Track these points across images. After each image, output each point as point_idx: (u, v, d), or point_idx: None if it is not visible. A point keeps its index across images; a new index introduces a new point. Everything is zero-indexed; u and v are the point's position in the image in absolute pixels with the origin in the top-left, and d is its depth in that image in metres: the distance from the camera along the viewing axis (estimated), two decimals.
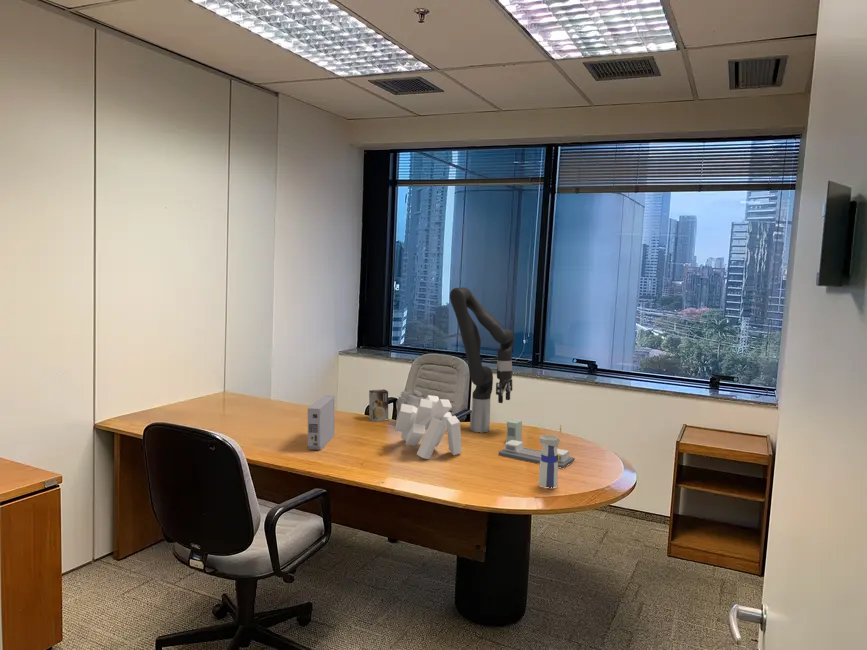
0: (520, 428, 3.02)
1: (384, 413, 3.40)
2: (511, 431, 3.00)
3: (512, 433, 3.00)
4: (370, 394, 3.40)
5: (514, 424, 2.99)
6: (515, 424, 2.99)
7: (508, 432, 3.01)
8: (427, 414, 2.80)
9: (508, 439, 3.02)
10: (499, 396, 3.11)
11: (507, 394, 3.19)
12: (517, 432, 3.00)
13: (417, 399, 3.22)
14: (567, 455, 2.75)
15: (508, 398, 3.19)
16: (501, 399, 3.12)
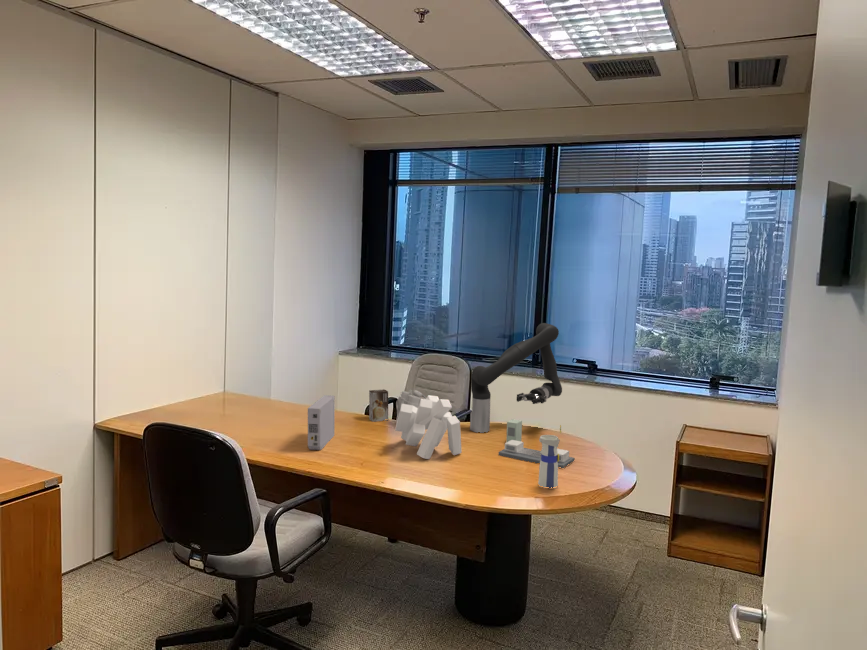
0: (520, 428, 3.02)
1: (384, 413, 3.40)
2: (511, 431, 3.00)
3: (512, 433, 3.00)
4: (370, 394, 3.40)
5: (514, 424, 2.99)
6: (515, 424, 2.99)
7: (508, 432, 3.01)
8: (427, 414, 2.80)
9: (508, 439, 3.02)
10: (538, 400, 3.11)
11: (520, 398, 3.15)
12: (517, 432, 3.00)
13: (417, 399, 3.22)
14: (567, 455, 2.75)
15: (518, 400, 3.14)
16: (535, 402, 3.10)
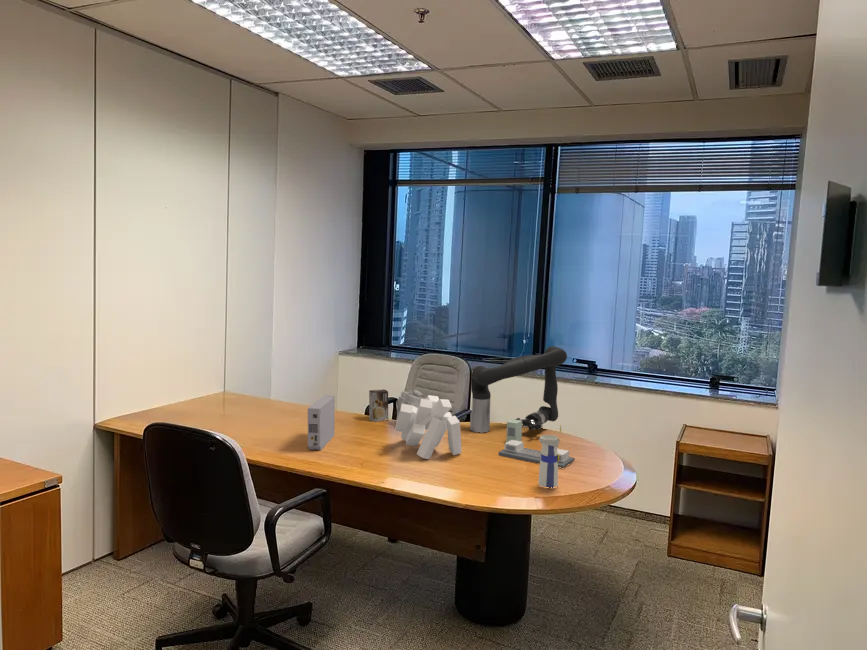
0: (520, 428, 3.02)
1: (384, 413, 3.40)
2: (511, 431, 3.00)
3: (512, 433, 3.00)
4: (370, 394, 3.40)
5: (514, 424, 2.99)
6: (515, 424, 2.99)
7: (508, 432, 3.01)
8: (427, 414, 2.80)
9: (508, 439, 3.02)
10: (534, 426, 3.09)
11: None
12: (517, 432, 3.00)
13: (417, 399, 3.22)
14: (567, 455, 2.75)
15: None
16: (531, 428, 3.08)
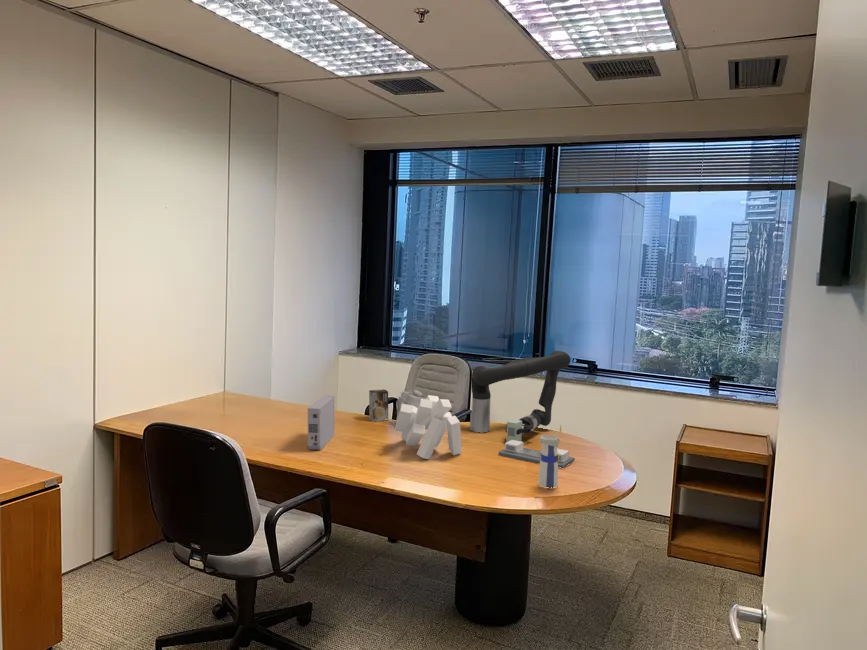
0: (520, 428, 3.02)
1: (384, 413, 3.40)
2: (511, 431, 3.00)
3: (512, 433, 3.00)
4: (370, 394, 3.40)
5: (514, 424, 2.99)
6: (515, 424, 2.99)
7: (508, 432, 3.01)
8: (427, 414, 2.80)
9: (508, 439, 3.02)
10: (522, 431, 3.01)
11: None
12: None
13: (417, 399, 3.22)
14: (567, 455, 2.75)
15: None
16: None
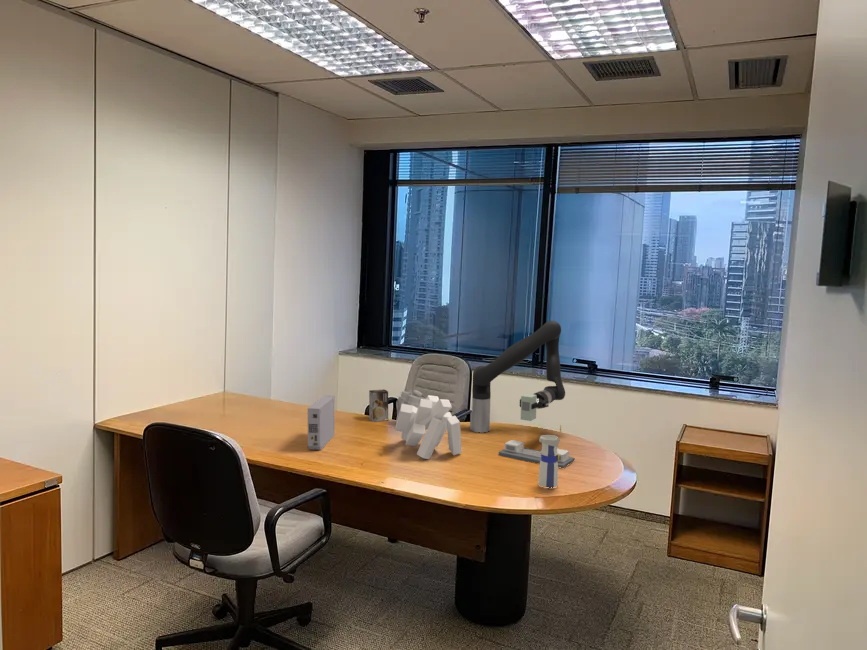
0: (534, 402, 2.89)
1: (384, 413, 3.40)
2: (526, 405, 2.87)
3: (527, 408, 2.87)
4: (370, 394, 3.40)
5: (529, 398, 2.86)
6: (530, 398, 2.86)
7: (522, 407, 2.88)
8: (427, 414, 2.80)
9: (522, 414, 2.88)
10: (537, 405, 2.88)
11: None
12: None
13: (417, 399, 3.22)
14: (567, 455, 2.75)
15: None
16: (534, 407, 2.87)
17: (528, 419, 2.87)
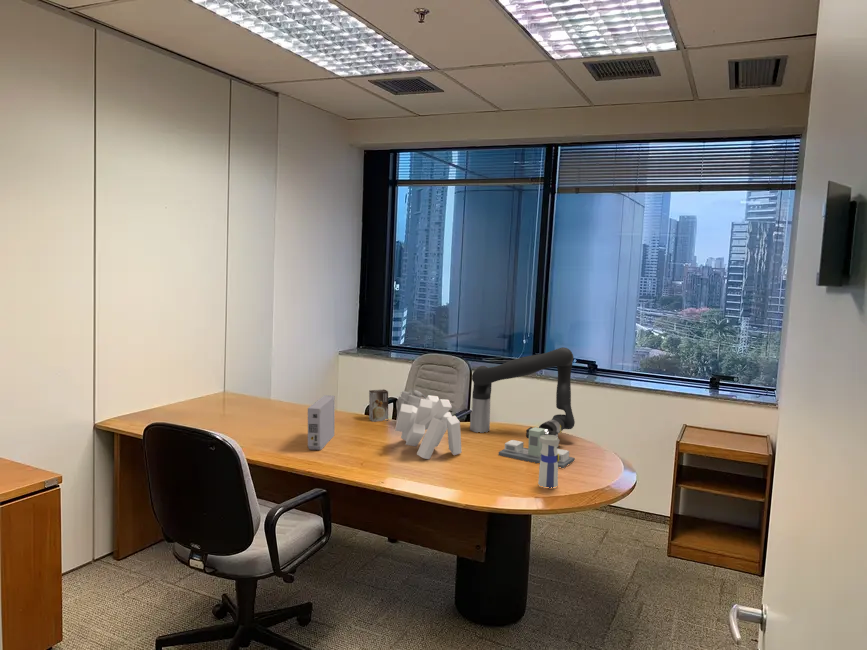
0: None
1: (384, 413, 3.40)
2: (533, 440, 2.79)
3: (535, 443, 2.78)
4: (370, 394, 3.40)
5: (537, 433, 2.78)
6: (538, 433, 2.77)
7: (530, 441, 2.80)
8: (427, 414, 2.80)
9: (530, 449, 2.80)
10: None
11: None
12: (540, 442, 2.79)
13: (417, 399, 3.22)
14: (567, 455, 2.75)
15: (528, 436, 2.82)
16: None
17: (536, 454, 2.79)
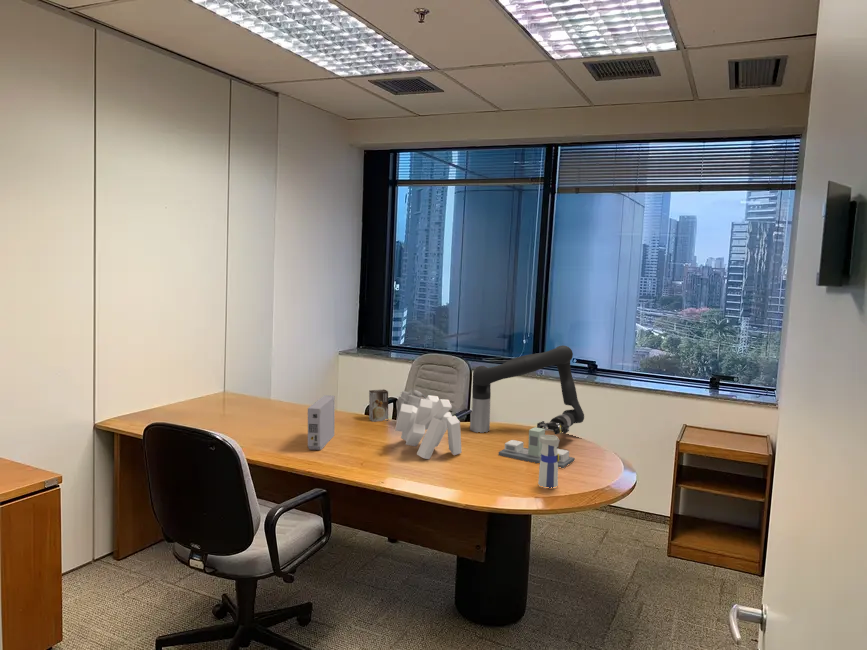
0: None
1: (384, 413, 3.40)
2: (533, 440, 2.79)
3: (535, 443, 2.78)
4: (370, 394, 3.40)
5: (537, 433, 2.78)
6: (538, 433, 2.77)
7: (530, 441, 2.80)
8: (427, 414, 2.80)
9: (530, 449, 2.80)
10: None
11: (541, 427, 2.95)
12: (540, 442, 2.79)
13: (417, 399, 3.22)
14: (567, 455, 2.75)
15: None
16: None
17: (536, 454, 2.79)
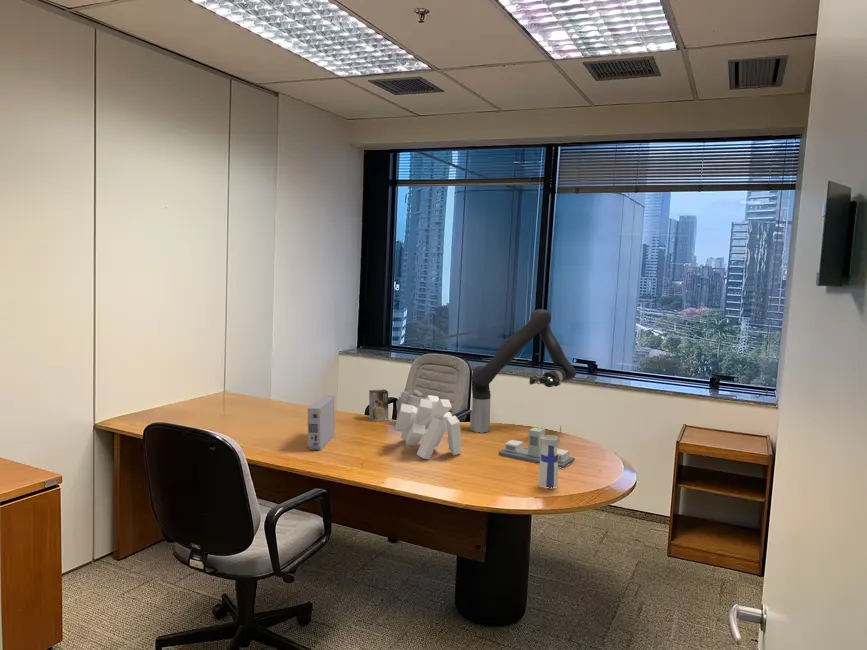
0: None
1: (384, 413, 3.40)
2: (533, 440, 2.79)
3: (535, 443, 2.78)
4: (370, 394, 3.40)
5: (537, 433, 2.78)
6: (538, 433, 2.77)
7: (530, 441, 2.80)
8: (427, 414, 2.80)
9: (530, 449, 2.80)
10: (552, 383, 2.98)
11: (533, 381, 3.03)
12: (540, 442, 2.79)
13: (417, 399, 3.22)
14: (567, 455, 2.75)
15: (531, 383, 3.01)
16: (549, 385, 2.97)
17: (536, 454, 2.79)
